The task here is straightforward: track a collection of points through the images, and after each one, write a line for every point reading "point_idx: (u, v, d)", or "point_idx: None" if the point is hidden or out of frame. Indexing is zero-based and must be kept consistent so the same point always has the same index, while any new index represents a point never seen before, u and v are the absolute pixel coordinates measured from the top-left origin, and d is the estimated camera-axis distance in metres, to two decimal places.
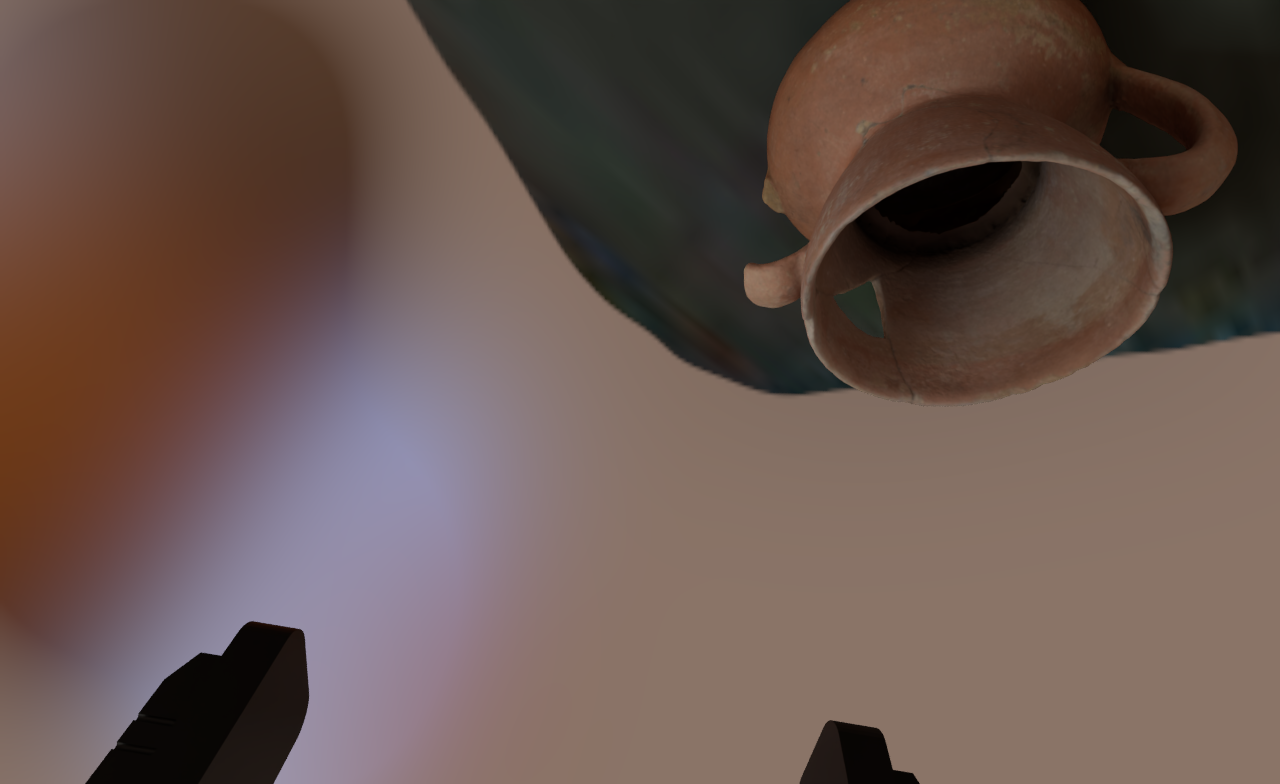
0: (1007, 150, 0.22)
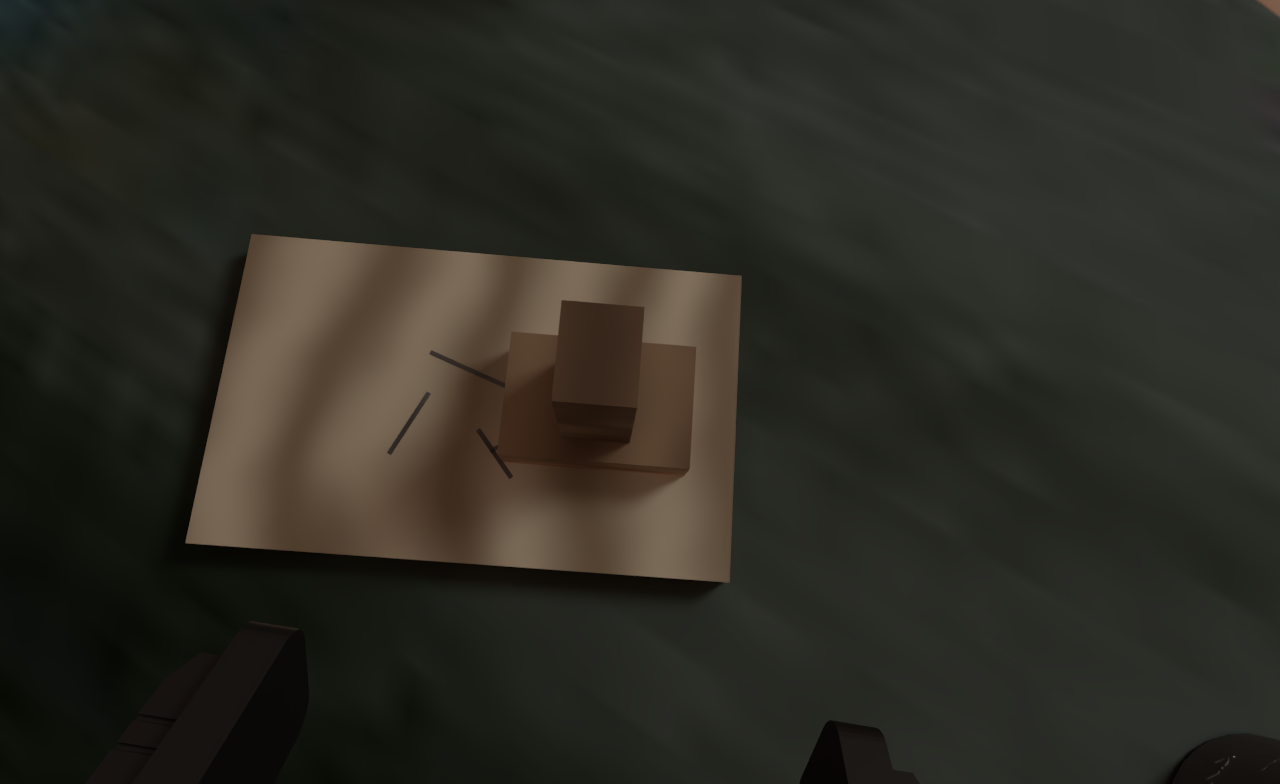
0: None
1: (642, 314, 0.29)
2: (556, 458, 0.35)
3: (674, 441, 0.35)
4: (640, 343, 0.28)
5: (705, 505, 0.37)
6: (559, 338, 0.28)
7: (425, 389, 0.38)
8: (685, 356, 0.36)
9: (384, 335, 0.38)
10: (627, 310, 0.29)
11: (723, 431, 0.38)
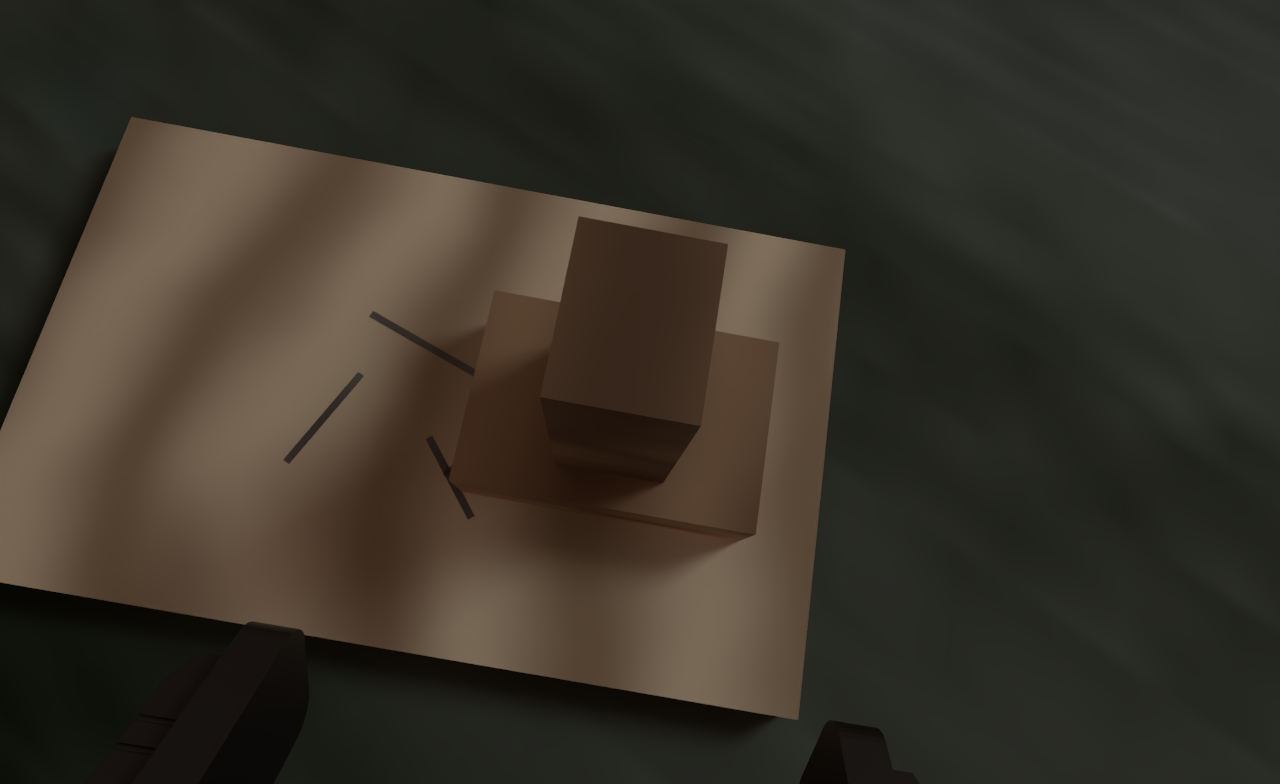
0: None
1: (723, 256, 0.16)
2: (543, 496, 0.22)
3: (735, 487, 0.22)
4: (715, 308, 0.15)
5: (768, 591, 0.24)
6: (567, 283, 0.15)
7: (356, 368, 0.25)
8: (761, 355, 0.23)
9: (305, 282, 0.25)
10: (696, 247, 0.16)
11: (803, 477, 0.25)
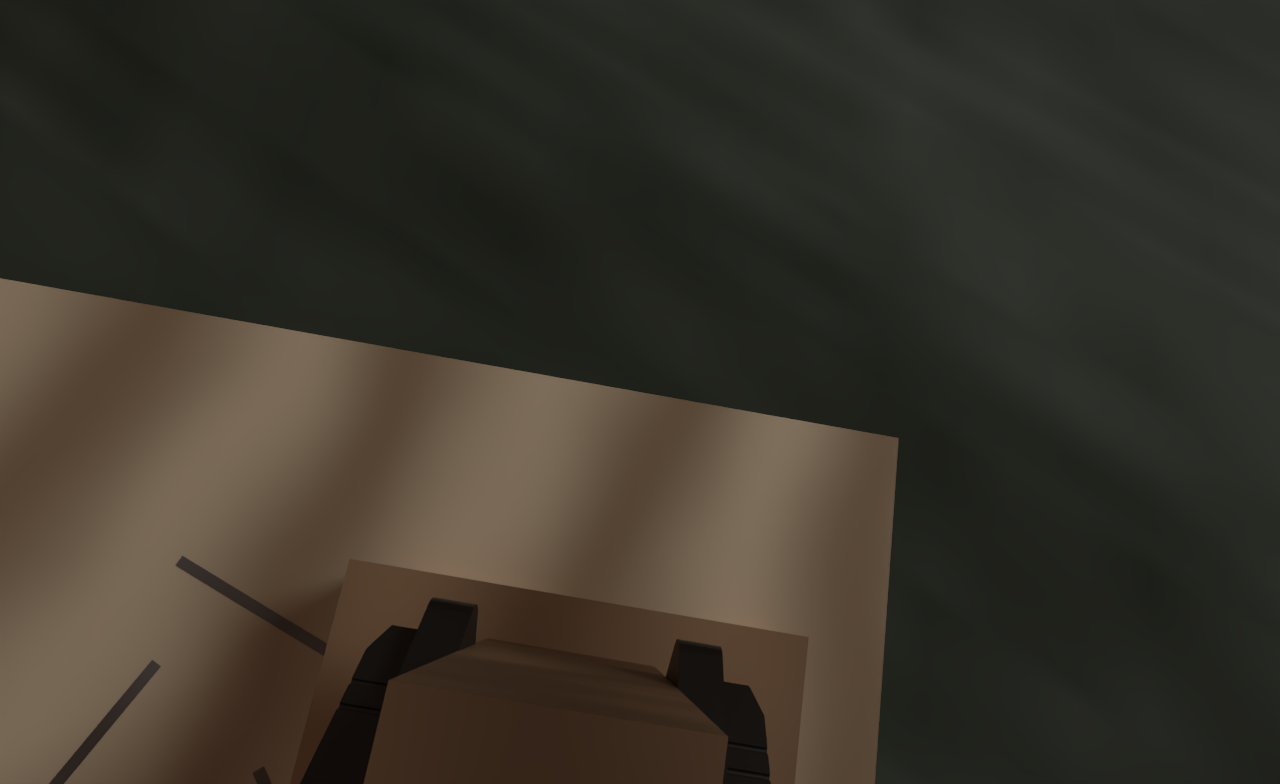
0: None
1: (717, 772, 0.07)
2: None
3: None
4: None
5: None
6: None
7: (149, 654, 0.16)
8: (779, 660, 0.14)
9: (79, 510, 0.17)
10: (656, 748, 0.07)
11: None
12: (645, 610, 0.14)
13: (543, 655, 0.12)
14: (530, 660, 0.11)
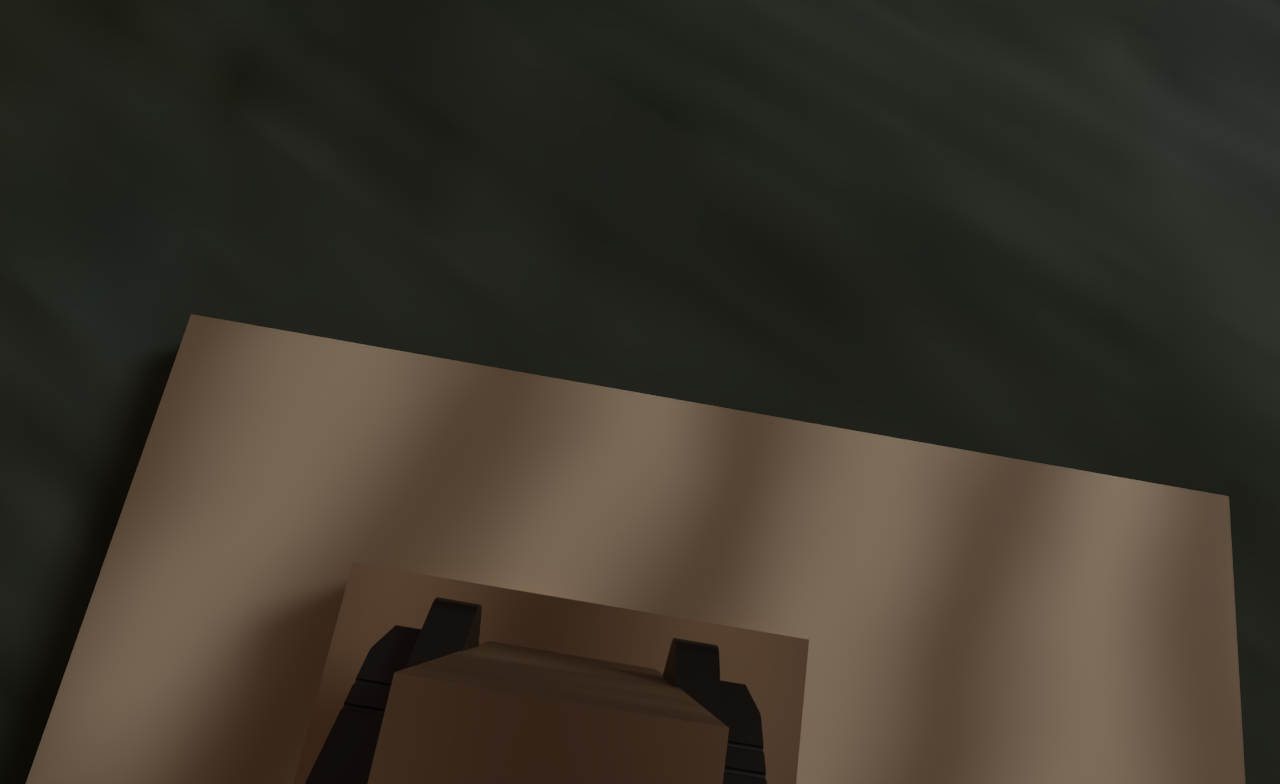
0: None
1: (718, 763, 0.07)
2: None
3: None
4: None
5: None
6: None
7: None
8: (780, 662, 0.14)
9: (460, 575, 0.17)
10: (658, 739, 0.07)
11: None
12: (646, 613, 0.14)
13: (545, 656, 0.12)
14: (532, 660, 0.11)
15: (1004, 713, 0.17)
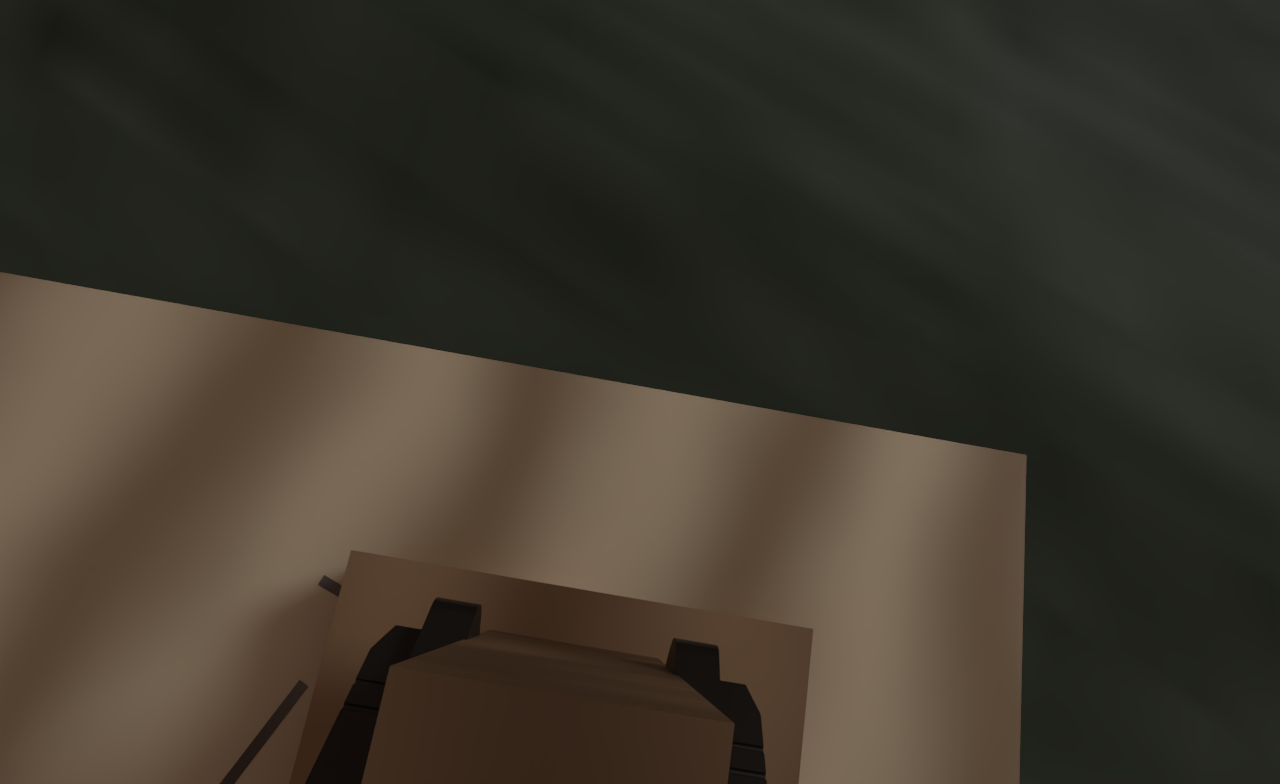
0: None
1: (723, 759, 0.07)
2: None
3: None
4: None
5: None
6: None
7: (296, 674, 0.16)
8: (784, 652, 0.14)
9: (220, 529, 0.17)
10: (662, 735, 0.07)
11: None
12: (648, 602, 0.14)
13: (546, 646, 0.12)
14: (533, 650, 0.11)
15: None
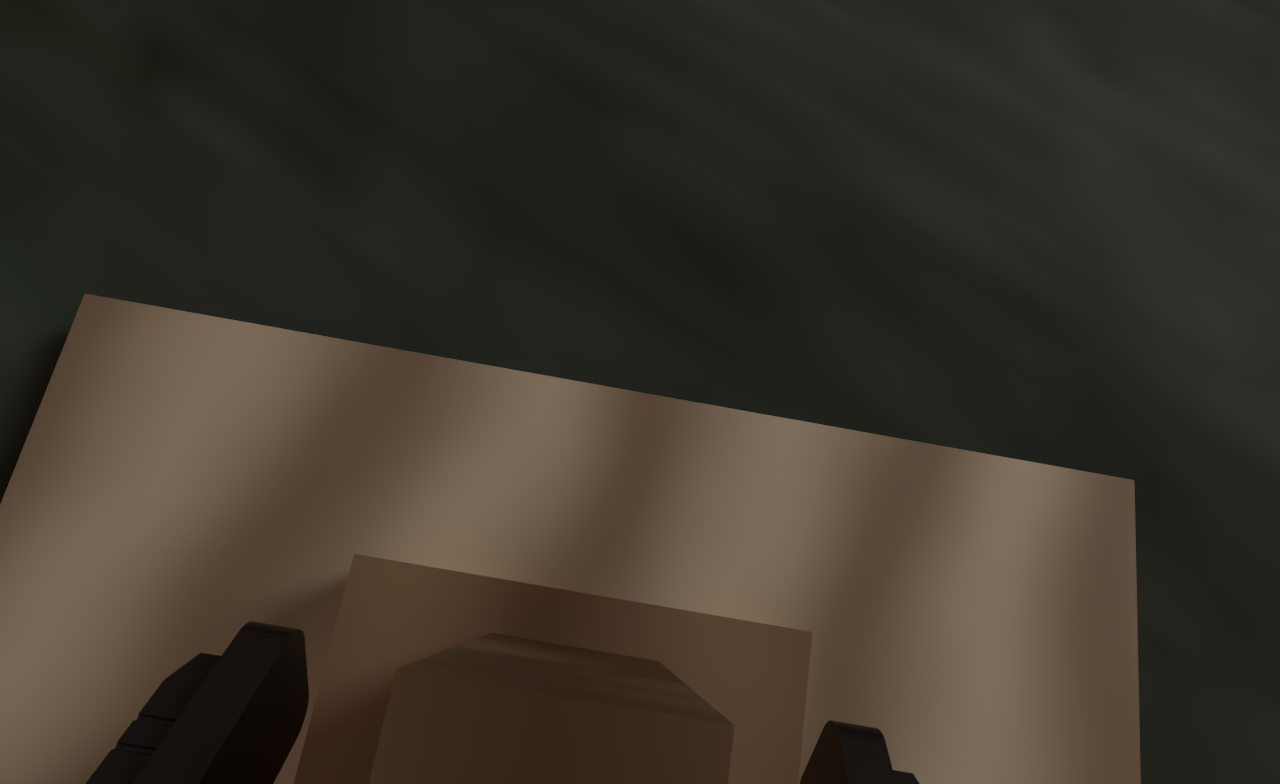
0: None
1: (724, 760, 0.07)
2: None
3: None
4: None
5: None
6: None
7: None
8: (783, 655, 0.14)
9: (348, 556, 0.17)
10: (663, 737, 0.07)
11: None
12: (649, 605, 0.14)
13: (548, 649, 0.12)
14: (535, 653, 0.11)
15: (897, 696, 0.17)
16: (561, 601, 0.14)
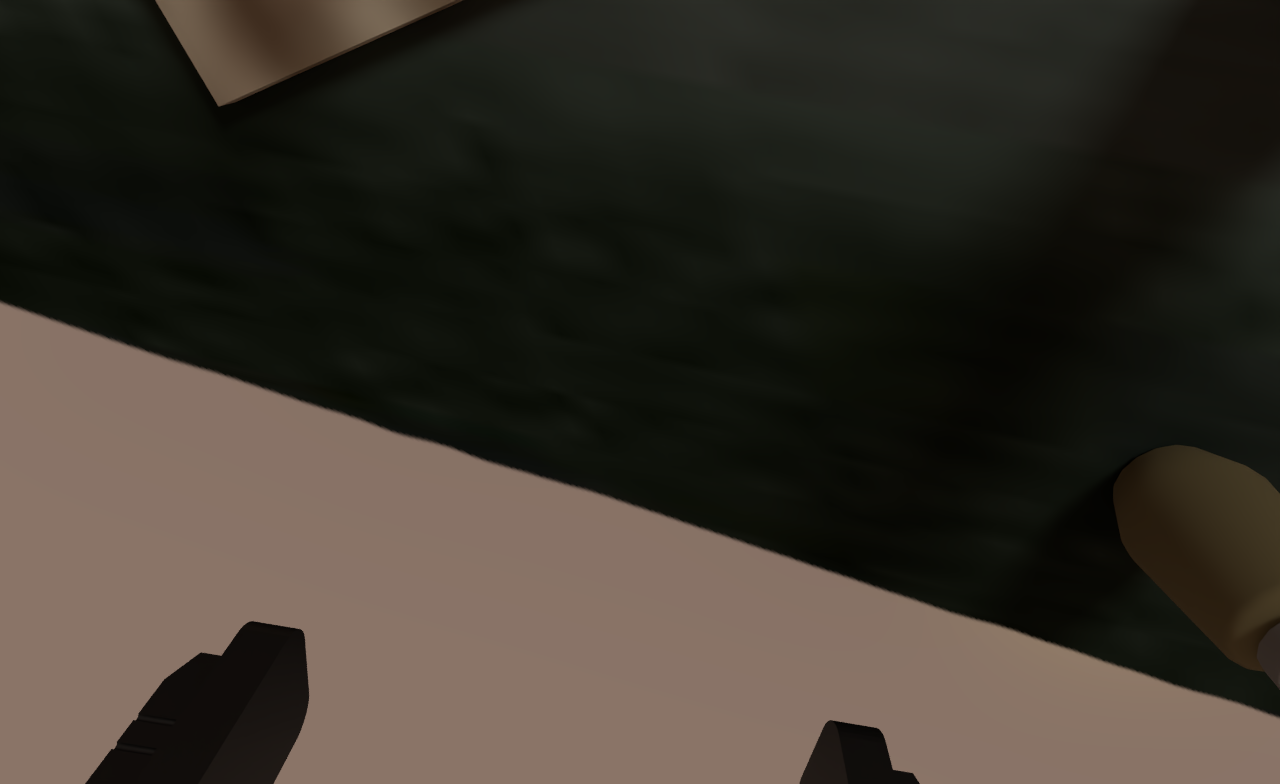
0: None
1: None
2: None
3: None
4: None
5: None
6: None
7: None
8: None
9: None
10: None
11: None
12: None
13: None
14: None
15: None
16: None
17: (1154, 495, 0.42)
